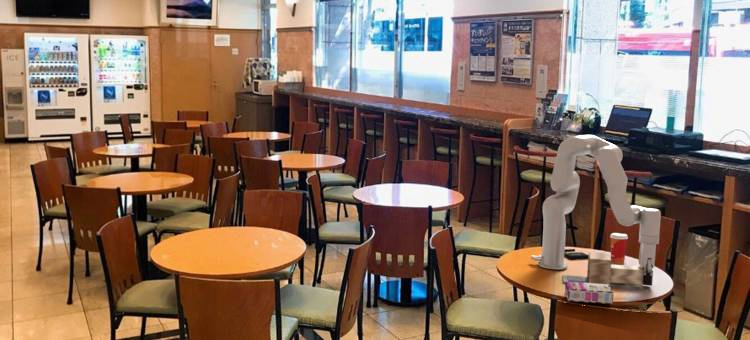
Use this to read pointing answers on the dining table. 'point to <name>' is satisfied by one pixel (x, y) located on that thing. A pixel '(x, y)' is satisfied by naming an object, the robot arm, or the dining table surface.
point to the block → (627, 274)
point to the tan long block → (599, 272)
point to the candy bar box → (589, 292)
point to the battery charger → (575, 255)
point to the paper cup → (618, 247)
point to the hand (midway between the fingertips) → (645, 282)
